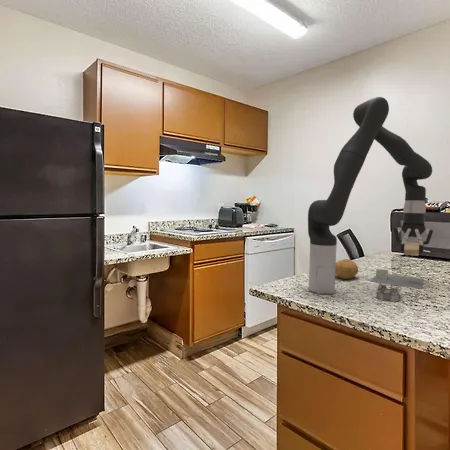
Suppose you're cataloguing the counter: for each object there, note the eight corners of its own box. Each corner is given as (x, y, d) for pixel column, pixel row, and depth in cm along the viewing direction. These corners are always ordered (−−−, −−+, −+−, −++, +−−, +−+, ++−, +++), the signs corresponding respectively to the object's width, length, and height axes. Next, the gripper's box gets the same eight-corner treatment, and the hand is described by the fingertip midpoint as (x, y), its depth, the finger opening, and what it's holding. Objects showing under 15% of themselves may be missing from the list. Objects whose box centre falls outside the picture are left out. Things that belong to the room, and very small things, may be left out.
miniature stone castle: (379, 292, 112) (379, 281, 112) (401, 296, 108) (402, 285, 108) (373, 299, 104) (374, 287, 104) (398, 303, 100) (399, 291, 99)
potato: (328, 280, 129) (329, 261, 128) (337, 274, 140) (338, 257, 140) (352, 284, 123) (353, 264, 123) (360, 277, 135) (361, 259, 134)
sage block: (386, 279, 129) (386, 270, 129) (376, 278, 131) (376, 268, 131) (387, 277, 132) (388, 268, 132) (377, 276, 135) (378, 267, 134)
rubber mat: (421, 290, 115) (421, 288, 115) (369, 282, 126) (369, 281, 126) (424, 279, 132) (424, 278, 132) (378, 273, 142) (378, 272, 142)
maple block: (418, 255, 122) (419, 243, 121) (403, 254, 125) (404, 242, 124) (419, 254, 126) (419, 242, 125) (405, 253, 129) (405, 241, 128)
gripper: (393, 211, 125) (390, 252, 126) (435, 212, 117) (432, 256, 118) (395, 211, 131) (393, 250, 132) (435, 212, 123) (433, 254, 124)
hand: (411, 253), depth 125 cm, fingers closed on maple block, 5 cm apart
